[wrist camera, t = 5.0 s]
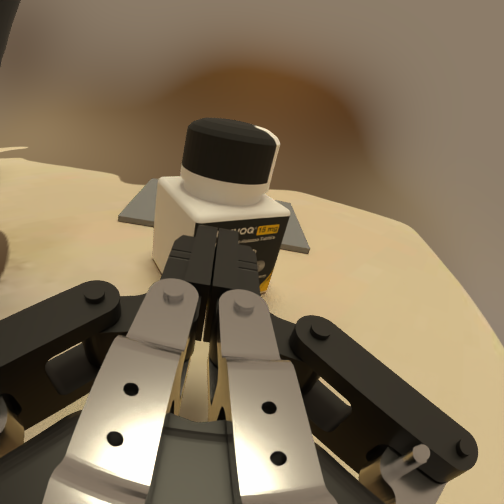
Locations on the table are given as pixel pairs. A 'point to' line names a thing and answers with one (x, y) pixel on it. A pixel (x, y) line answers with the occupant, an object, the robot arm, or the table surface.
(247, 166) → the medicine bottle
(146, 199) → the placemat
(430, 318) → the table surface
